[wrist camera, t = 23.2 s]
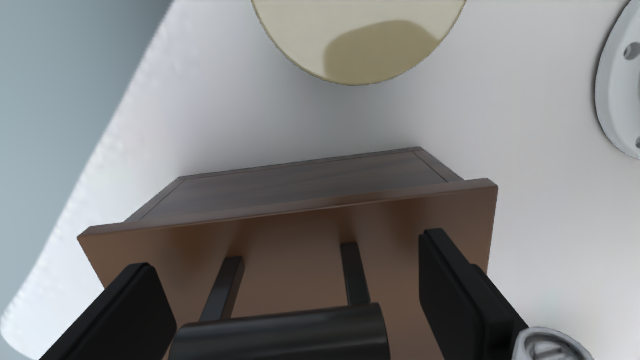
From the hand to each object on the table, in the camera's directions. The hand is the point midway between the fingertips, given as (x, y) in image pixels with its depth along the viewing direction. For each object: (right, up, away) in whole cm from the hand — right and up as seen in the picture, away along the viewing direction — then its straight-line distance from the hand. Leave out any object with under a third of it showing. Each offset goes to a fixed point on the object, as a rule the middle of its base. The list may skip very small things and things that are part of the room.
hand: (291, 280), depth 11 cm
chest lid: (+1, -4, +4) cm, 6 cm away
